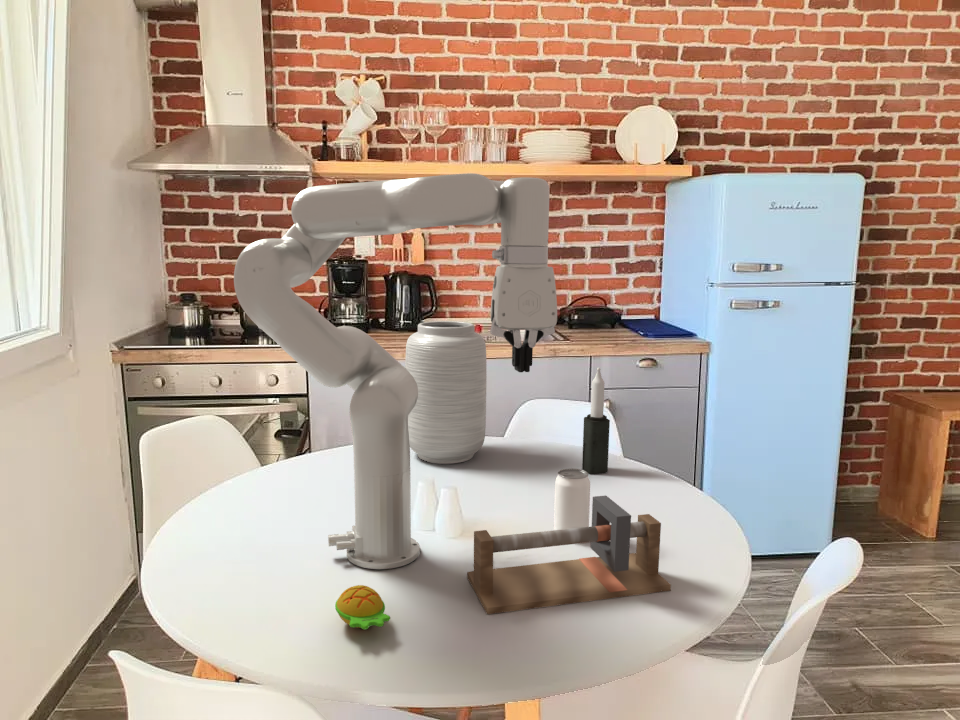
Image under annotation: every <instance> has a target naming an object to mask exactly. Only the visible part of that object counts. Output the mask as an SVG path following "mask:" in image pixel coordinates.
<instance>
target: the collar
mask: <svg viewBox="0 0 960 720" xmlns="http://www.w3.org/2000/svg"><path fill="white" fill-rule="evenodd" d="M591 509H592V510H591V511H592V512H591V527H592V526H602V525H611V540H607V541H598V542H590V549H591V550H592V551H593V552H594V553H595V554H596V555H597V557H600V558H601V559H602V560H603V561H604V562H605V563H606V564H607V565H608V566H609V567H610V568H611V569H612V570H613V571H614V572H617V571H626V570H629V553H630V544H631V538H630V528H631V523H632V515H631V514H630V513H628V511H626V510H625V508H623V507H621V506H620V505H619V504H617V502H615V501H614V500H612V499H611V498H610V497H609V496H608V495H597V496H596V495H595V496H592V508H591Z"/></svg>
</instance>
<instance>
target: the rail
mask: <svg viewBox="0 0 960 720" xmlns="http://www.w3.org/2000/svg"><path fill="white" fill-rule="evenodd" d="M661 529H662V522H660V521H659V520H657V518H655V517H654V516H652V515H651V514H650V513H646V514H638V515H637V521H633V522H632V521H631V528H630V539H633V538H636V549H635V550H636V551H635V552H632V553H631V552H629V570H626V571H617V572H614V571H613V570H612V569H611V568H610V567H609V566H608V565H607V564H606V563H605V562H604V561H603V560H602V559H601V558H600V557H599V556H590V557H580V558H577V559H576V558H575V559H568V560H560V561H549V562H543V563H534V564H524V565H515V566H507V567H500V568H499V567H496V568H494V554H495V553H503V552H511V551H512V552H515V551H520V550H531V549H539V548H542V549H543V548H548V547H549V548H550V547H551V548H552V547H559V546H568V545H578V544H587V543H591V542H598V541H607V540H609V541H611V524H610V525H602V526H592V525H591V526H589V527H582V528H572V529H562V530H554V529H553V530H544V531H535V532H533V531H532V532H525V533H524V532H523V533H516V534H514V533H513V534H505V535H493V536H491V534H490V533H489V531H488V530H487V529H486V530H485V529H484V530H483V529H482V530H474V531H473V570H472V571H467V572H466V575H467V576H466V578H467V580H468V582H469V584H470V585H471V587H472V589H473V591H474V593H475V595H476V597H477V599H478V600H479V602H480V604H481V605H482V608H483V609H484V611H485V613H486V615H493V614H501V613H508V612H516V611H523V610H531V609H539V608H546V607H555V606H561V605H570V604H577V603H578V604H579V603H585V602H593V601H601V600H607V599H608V600H609V599H617V598H625V597H631V596H639V595H647V594H655V593H660V592H661V593H663V592H668V591H671V590H672V589H671V586H672V584H671V583H670V582H668V581H667V579H665V578H664V577H663V576H662V575H661V574H660V573H659V570H660V569H659V567H660V562H659V561H660V551H661V550H660V548H661V532H662V531H661Z"/></svg>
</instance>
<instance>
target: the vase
mask: <svg viewBox="0 0 960 720" xmlns="http://www.w3.org/2000/svg"><path fill="white" fill-rule="evenodd" d="M404 367H405V368H406V369H407V370H408V371H409V372H410V374H411V375H412V376H413V377H414V379H415V381H416V383H417V387H418V399H417V402H416V404H415V406H414V408H413V409H412V411H411V412H410V414H409V416H408V431H409V442H410V450H412V451H413V452H414V453H415V454H417V457H418V458H419V459H420V460H421V459H422V460H421V461H423V460H424V462H426V461H427V463H432V464H440V465H441V464H442V465H446V464H447V465H449V464H450V465H452V464H459V463H464V462H467V461H469V460H471V459H472V458H473V457H474V455H475V454H476V453H477V452H478V451H480V449H481V448H482V447H483V445H484V441H485V438H486V428H487V427H486V426H487V425H486V423H487V345H486V341H485V339H484V337H483V336H482V335H481V334H480V333H477V332H475V324H473V323H471V322H467V321H456V320H455V321H454V320H453V321H452V320H451V321H450V320H433V321H424V322H419V323H418V324H417V331H416V332H414V333H412V334H411V335H410V336H409V337H408V338H407V340H406V345H405V363H404Z"/></svg>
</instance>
